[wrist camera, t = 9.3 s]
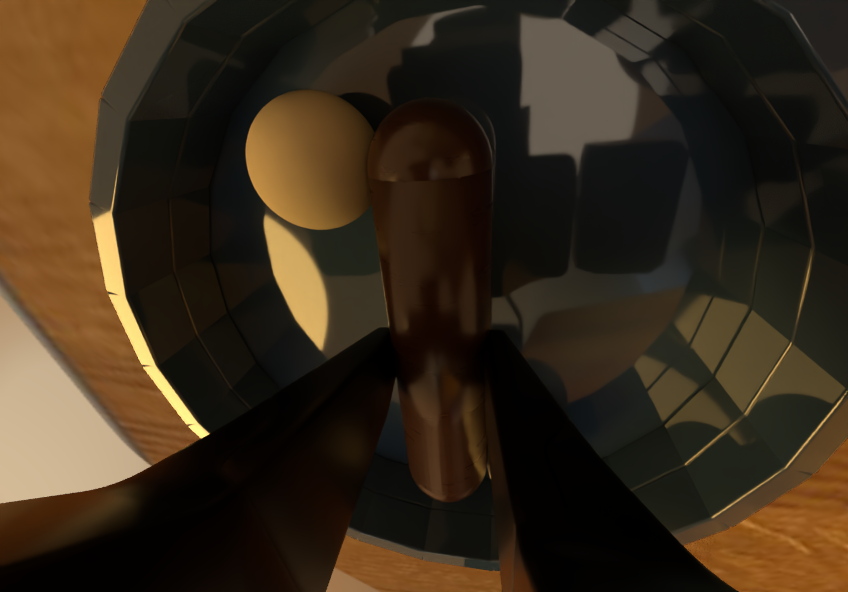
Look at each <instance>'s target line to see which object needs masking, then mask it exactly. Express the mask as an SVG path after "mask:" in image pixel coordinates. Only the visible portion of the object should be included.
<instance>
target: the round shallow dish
mask: <svg viewBox="0 0 848 592" xmlns="http://www.w3.org/2000/svg"><path fill="white" fill-rule="evenodd" d="M303 89H312V90H318V91H324V92H327V93H331V94H333V95H335V96H337V97H340V98H342V99H344V100H345V101H347V102H348V103H350V104H351V105H352V106H353V107H355V108H356V109H357V110H358V111H359V112H360V113H361V114H362V115H363V116H364V117H365V119H366V120H367V121H368V123H369V124H370V125H371V127H372V129H373V131H374V133H375V131H376V130H377V128H378V126H379V124H380V123H381V122H382V121H383V120H384V119H385V117H386V116H387V115H388V114H389V113H390V112H392V111H393V110H394V109H396V108H397V107H399V106H400V105H402V104H404V103H407V102H409V101H411V100H415V99H420V98H441V99H444V100H448V101H452V102H454V103H456V104H458V105H459V106H461V107H463V108H464V109H466V110H467V111H468V112H469V113H470V114H472V115H473V116H474V117H475V118H476V120H477V121H478V122H479V124H480V125H481V126H482V128H483V130H484V131H485V133H486V135H487V137H488V140H489V143H490V147H491V151H492V159H493V193H492V245H491V298H490V330H503V331H505V333H506V334H507V335H508V337H509V338H510V339H511V341H512V342H513V343H514V345H515V346H516V347H517V349H518V350H519V351H520V353H521V354H522V355H523V357H524V358H525V359H526V361H527V362H528V363H529V365H530V366H531V367H532V369H533V370H534V371H535V373H536V374H537V375H538V377H539V378H540V379H541V381H542V382H543V383H544V385H545V386H546V387H547V389H548V390H549V391H550V393H551V394H552V395H553V397H554V398H555V399H556V401H557V402H558V403H559V405H560V406H561V407H562V409H563V410H564V411H565V413H566V414H567V415H568V417H569V419H570V420H571V421H572V422H573V423H574V424H575V426H576V427H577V428H578V430H579V431H580V432H581V434H582V435H583V436H584V438H585V439H586V440H587V441H588V443H589V444H590V445H591V446H592V448H593V449H594V450H595V451H596V453H597V454H598V455H599V456H600V457H601V458H602V459H603V461H604V462H605V463H606V464H607V465H608V466H609V467H610V468H611V469H612V471H613V472H614V473H615V474H616V475H617V476H618V477H619V478H620V479H621V480H622V482H623V483H624V484H625V485H626V486H627V487H628V488H629V489H630V490H631V491H632V492H633V493H634V494H635V495H636V496H637V497H638V498H639V500H640V501H641V502H642V503H643V504H644V505H645V506H646V507H647V508H648V509H649V510H650V511H651V512H652V513H653V514H654V515H655V517H656V518H657V519H658V520H659V521H660V522H661V523H662V524H663V525H664V526H665V527H666V528H667V529H668V530H669V531H670V532H671V534H672V535H673V536H674V537H675V538H676V539H677V540H678V541H679V542H680V543H681V544H682V545H686V544H689V543H691V542H694V541H697V540H700V539H703V538H705V537H708V536H711V535H714V534H716V533H719V532H722V531H725V530H728V529H729V528H730V527H734V526H736V525H737V524H739V523H740V522H742V521H743V520H745V519H747V518H748V517H750V516H751V515H753V514H754V513H756V512H758V511H759V510H761V509H762V508H764V507H765V506H767V505H769V504H770V503H772V502H773V501H775V500H776V499H778V498H780V497H781V496H783V495H784V494H786V493H787V492H789V491H791V490H792V489H794V488H795V487H797V486H798V485H800V484H802V483H803V482H805V481H806V480H808V479H809V478H811V477H812V476H813V474H815V473H817V472H818V471H819V470H820V469H821V468H822V466H823V465H824V464H825V463H826V462H827V461H828V460H829V459H830V458H831V456H832V455H833V454H834V453H835V452H836V451H837V450H838V449H839V448H840V446H841V445H842V444H843V443H844V442H845V441H846V440H847V439H848V0H147V2H146V4H145V6H144V8H143V10H142V12H141V14H140V16H139V18H138V20H137V22H136V24H135V26H134V28H133V30H132V32H131V34H130V36H129V38H128V40H127V42H126V44H125V46H124V48H123V50H122V53H121V55H120V57H119V59H118V61H117V63H116V65H115V67H114V69H113V71H112V73H111V75H110V77H109V79H108V81H107V83H106V85H105V87H104V89H103V91H102V93H101V96H102V98H100V100H99V109H98V118H97V128H96V137H95V147H94V156H93V166H92V175H91V185H90V194H89V200H90V201H91V202H89V207H90V212H91V217H92V222H93V227H94V232H95V237H96V243H97V248H98V253H99V258H100V263H101V268H102V273H103V278H104V283H105V288H106V290H107V291H108V296H109V298H110V300H111V302H112V304H113V306H114V309H115V311H116V313H117V315H118V317H119V319H120V321H121V323H122V326H123V328H124V330H125V332H126V334H127V336H128V338H129V340H130V342H131V345H132V347H133V349H134V351H135V353H136V355H137V357H138V359H139V362H140V363H141V364H142V365H143V368H144V370H145V371H146V372H147V374H148V375H149V376H150V378H151V379H152V380H153V381H154V383H155V384H156V385H157V387H158V388H159V389H160V391H161V392H162V393H163V395H164V396H165V397H166V399H167V400H168V401H169V403H170V404H171V405H172V407H173V408H174V409H175V411H176V412H177V413H178V415H179V416H180V417H181V418H182V420H183V421H184V422H185V424H187V425H188V427H189V428H190V429H191V430H192V431H193V432H194V433H195V434H197V435H198V436H199V437H200V438H203V437H205V436H207V435H208V434H210V433H212V432H214V431H215V430H217V429H219V428H221V427H222V426H224V425H226V424H228V423H229V422H231V421H233V420H235V419H236V418H238V417H239V416H241V415H243V414H244V413H246V412H247V411H249V410H251V409H252V408H254V407H256V406H257V405H259V404H260V403H262V402H263V401H265V400H266V399H268V398H272V396H273V395H274V394H276V393H277V392H279V391H281V390H282V389H284V388H285V387H287V386H288V385H290V384H291V383H293V382H295V381H296V380H298V379H299V378H301V377H302V376H304V375H305V374H307V373H309V372H310V371H312V370H313V369H315V368H316V367H318V366H319V365H321V364H323V363H324V362H326V361H327V360H329V359H330V358H332V357H334V356H335V355H337V354H338V353H340V352H341V351H343V350H344V349H346V348H348V347H349V346H351V345H352V344H354V343H355V342H357V341H358V340H360V339H362V338H363V337H365V336H366V335H368V334H369V333H371V332H372V331H374V330H376V329H377V328H379V327H389V323H388V316H387V309H386V302H385V295H384V288H383V281H382V274H381V267H380V260H379V253H378V246H377V239H376V232H375V225H374V218H373V211H372V204H371V205H370V207H369V208H368V209H367V210H366V211H365V212H364V213H363V214H362V215H361V216H360V217H358V218H357V219H356V220H354V221H352V222H351V223H349V224H347V225H344V226H341V227H338V228H333V229H327V230H316V229H309V228H304V227H300V226H297V225H295V224H292V223H290V222H288V221H287V220H285V219H283V218H282V217H280V216H279V215H277V214H276V213H275V212H273V211H272V210H271V209H270V208H269V207H268V206H267V205H266V203H265V202H264V201H263V200H262V199H261V197H260V196H259V194H258V193H257V191H256V189H255V188H254V186H253V184H252V181H251V179H250V176H249V173H248V169H247V163H246V151H245V150H246V141H247V136H248V132H249V130H250V127H251V124H252V123H253V121H254V119H255V117H256V116H257V114H258V113H259V112H260V110H261V109H262V108H263V107H264V106H265V105H266V104H268V103H269V102H270V101H271V100H273V99H274V98H276V97H278V96H280V95H282V94H285V93H287V92H290V91H296V90H303ZM346 535H348V536H350V537H352V538H354V539H358V540H359V541H362V542H365V543H369V544H372V545H375V546H379V547H382V548H385V549H388V550H392V551H395V552H398V553H402V554H405V555H408V556H412V557H415V558H418V559H423V560H424V561H430V562H437V563H443V564H450V565H457V566H463V567H470V568H476V569H483V570H489V571H493V570H495V571H500V564H499V554H498V544H497V534H496V524H495V514H494V504H493V494H492V484H491V478H490V476H489V472H488V468H486V473H485V476H484V479H483V481H482V482H481V484H480V486H479V487H478V489H477V490H476V491H475V492H474V493H473V494H471V495H470V496H468V497H467V498H465V499H463V500H460V501H457V502H441V501H437V500H435V499H433V498H431V497H429V496H427V495H426V494H425V493H423V492H422V491H421V489H420V488H419V487H418V486H417V485H416V483H415V481H414V480H413V478H412V475H411V472H410V469H409V464H408V457H407V450H406V443H405V436H404V429H403V422H402V415H401V408H400V401H399V394H398V387H397V379H395V384H394V388H393V393H392V398H391V402H390V406H389V411H388V414H387V417H386V421H385V424H384V426H383V429H382V432H381V435H380V438H379V441H378V444H377V446H376V449H375V452H374V455H373V458H372V461H371V464H370V466H369V469H368V472H367V475H366V478H365V481H364V484H363V486H362V489H361V492H360V495H359V498H358V501H357V504H356V506H355V509H354V512H353V515H352V518H351V521H350V524H349V527H348V529H347V532H346Z"/></svg>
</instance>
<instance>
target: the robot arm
mask: <svg viewBox="0 0 848 592" xmlns="http://www.w3.org/2000/svg"><path fill="white" fill-rule="evenodd" d="M484 373H485V420H486V433H487V443H488V454H489V464H490V474H491V484H492V494H493V504H494V514H495V524H496V534H497V544H498V554H499V564H500V574H501V584H502V592H738V591H737V590H735V589H734V588H732V587H731V586H729V585H728V584H726V583H725V582H724V581H722V580H721V579H720V578H718V577H717V576H716V575H715V574H713V573H712V572H711V571H710V570H708V569H707V568H706V567H705V566H704V565H703V564H702V563H700V562H699V561H698V560H697V559H696V558H695V557H694V556H693V555H692V554H691V553H690V552H689V551H688V550H687V549H686V548H685V547H684V546H683V545H682V544H681V543H680V542H679V541H678V540H677V539H676V538H675V537H674V536H673V535H672V534H671V532H670V531H669V530H668V529H667V528H666V527H665V526H664V525H663V524H662V523H661V522H660V521H659V520H658V519H657V518H656V517H655V515H654V514H653V513H652V512H651V511H650V510H649V509H648V508H647V507H646V506H645V505H644V504H643V503H642V502H641V501H640V500H639V498H638V497H637V496H636V495H635V494H634V493H633V492H632V491H631V490H630V489H629V488H628V487H627V486H626V485H625V484H624V483H623V482H622V480H621V479H620V478H619V477H618V476H617V475H616V474H615V473H614V472H613V471H612V469H611V468H610V467H609V466H608V465H607V464H606V463H605V462H604V461H603V459H602V458H601V457H600V456H599V455H598V454H597V453H596V451H595V450H594V449H593V448H592V446H591V445H590V444H589V443H588V441H587V440H586V439H585V438H584V436H583V435H582V434H581V432H580V431H579V430H578V428H577V427H576V426H575V424H574V423H573V422H572V421H571V420H570V419H569V417H568V415H567V414H566V413H565V411H564V410H563V409H562V407H561V406H560V405H559V403H558V402H557V401H556V399H555V398H554V397H553V395H552V394H551V393H550V391H549V390H548V389H547V387H546V386H545V385H544V383H543V382H542V381H541V379H540V378H539V377H538V375H537V374H536V373H535V371H534V370H533V369H532V367H531V366H530V365H529V363H528V362H527V361H526V359H525V358H524V357H523V355H522V354H521V353H520V351H519V350H518V349H517V347H516V346H515V345H514V343H513V342H512V341H511V339H510V338H509V337H508V335H507V334H506V333H505V331H503V330H490V332H489V334H488V336H487V338H486V342H485V353H484ZM395 379H396V372H395V365H394V358H393V351H392V344H391V337H390V330H389V327H379V328H377V329H376V330H374V331H372V332H371V333H369V334H368V335H366V336H365V337H363V338H362V339H360V340H358V341H357V342H355V343H354V344H352V345H351V346H349V347H348V348H346V349H344V350H343V351H341V352H340V353H338V354H337V355H335V356H334V357H332V358H330V359H329V360H327V361H326V362H324V363H323V364H321V365H319V366H318V367H316V368H315V369H313V370H312V371H310V372H309V373H307V374H305V375H304V376H302V377H301V378H299V379H298V380H296V381H295V382H293V383H291V384H290V385H288V386H287V387H285V388H284V389H282V390H281V391H279V392H277V393H276V394H274V395H273V396H272V398H268V399H266V400H265V401H263V402H262V403H260V404H259V405H257V406H256V407H254V408H252V409H251V410H249V411H247V412H246V413H244V414H243V415H241V416H239V417H238V418H236V419H235V420H233V421H231V422H229V423H228V424H226V425H224V426H222V427H221V428H219V429H217V430H215V431H214V432H212V433H210V434H208V435H207V436H205V437H203V438H201V439H199V440H198V441H196V442H194V443H192V444H190V445H189V446H187V447H185V448H183V449H181V450H180V451H178V452H176V453H174V454H172V455H171V456H169V457H167V458H165V459H163V460H162V461H160V462H158V463H156V464H154V465H153V466H151V467H149V468H147V469H146V470H144V471H142V472H140V473H138V474H136V475H134V476H132V477H130V478H127V479H125V480H123V481H120V482H118V483H115V484H112V485H109V486H106V487H102V488H98V489H94V490H89V491H84V492H77V493H70V494H63V495H57V496H49V497H42V498H35V499H28V500H21V501H15V502H8V503H1V504H0V592H326V589H327V586H328V583H329V581H330V578H331V575H332V572H333V569H334V567H335V564H336V561H337V558H338V555H339V552H340V549H341V547H342V544H343V541H344V538H345V535H346V532H347V529H348V527H349V524H350V521H351V518H352V515H353V512H354V509H355V506H356V504H357V501H358V498H359V495H360V492H361V489H362V486H363V484H364V481H365V478H366V475H367V472H368V469H369V466H370V464H371V461H372V458H373V455H374V452H375V449H376V446H377V444H378V441H379V438H380V435H381V432H382V429H383V426H384V424H385V421H386V417H387V414H388V411H389V406H390V402H391V398H392V393H393V388H394V384H395Z"/></svg>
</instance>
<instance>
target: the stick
mask: <svg viewBox="0 0 848 592" xmlns="http://www.w3.org/2000/svg"><path fill="white" fill-rule="evenodd" d="M367 176H368V183H369V190H370V197H371V204H372V211H373V218H374V225H375V232H376V239H377V246H378V253H379V260H380V267H381V274H382V281H383V288H384V295H385V302H386V309H387V316H388V323H389V330H390V337H391V344H392V351H393V358H394V365H395V372H396V379H397V387H398V394H399V401H400V408H401V415H402V422H403V429H404V436H405V443H406V450H407V457H408V464H409V469H410V472H411V475H412V478H413V480H414V481H415V483H416V485H417V486H418V487H419V488H420V489H421V491H422V492H423V493H425V494H426V495H427V496H429V497H431V498H433V499H435V500H437V501H441V502H457V501H460V500H463V499H465V498H467V497H468V496H470V495H471V494H473V493H474V492H475V491H476V490H477V489H478V487H479V486H480V484H481V482H482V481H483V479H484V476H485V473H486V468H487V456H488V443H487V433H486V420H485V373H484V353H485V342H486V338H487V336H488V334H489V332H490V298H491V245H492V193H493V159H492V151H491V147H490V143H489V140H488V137H487V135H486V133H485V131H484V130H483V128H482V126H481V125H480V124H479V122H478V121H477V120H476V118H475V117H474V116H473V115H472V114H470V113H469V112H468V111H467V110H466V109H464V108H463V107H461V106H459V105H458V104H456V103H454V102H452V101H448V100H444V99H441V98H420V99H415V100H411V101H409V102H407V103H404V104H402V105H400V106H399V107H397V108H396V109H394V110H393V111H392V112H390V113H389V114H388V115H387V116H386V117H385V119H384V120H383V121H382V122H381V123H380V124H379V126H378V128H377V130H376V131H375V133H374V135H373V137H372V140H371V143H370V146H369V150H368V157H367Z"/></svg>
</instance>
